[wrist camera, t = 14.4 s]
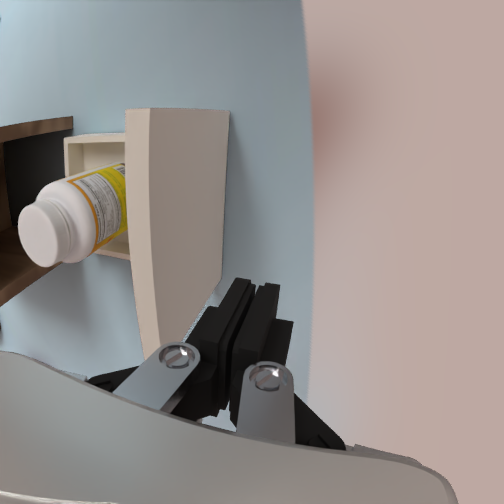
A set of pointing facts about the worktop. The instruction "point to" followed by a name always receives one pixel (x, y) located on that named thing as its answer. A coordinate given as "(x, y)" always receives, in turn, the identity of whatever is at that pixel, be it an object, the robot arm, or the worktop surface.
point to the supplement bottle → (75, 216)
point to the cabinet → (3, 233)
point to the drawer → (165, 210)
